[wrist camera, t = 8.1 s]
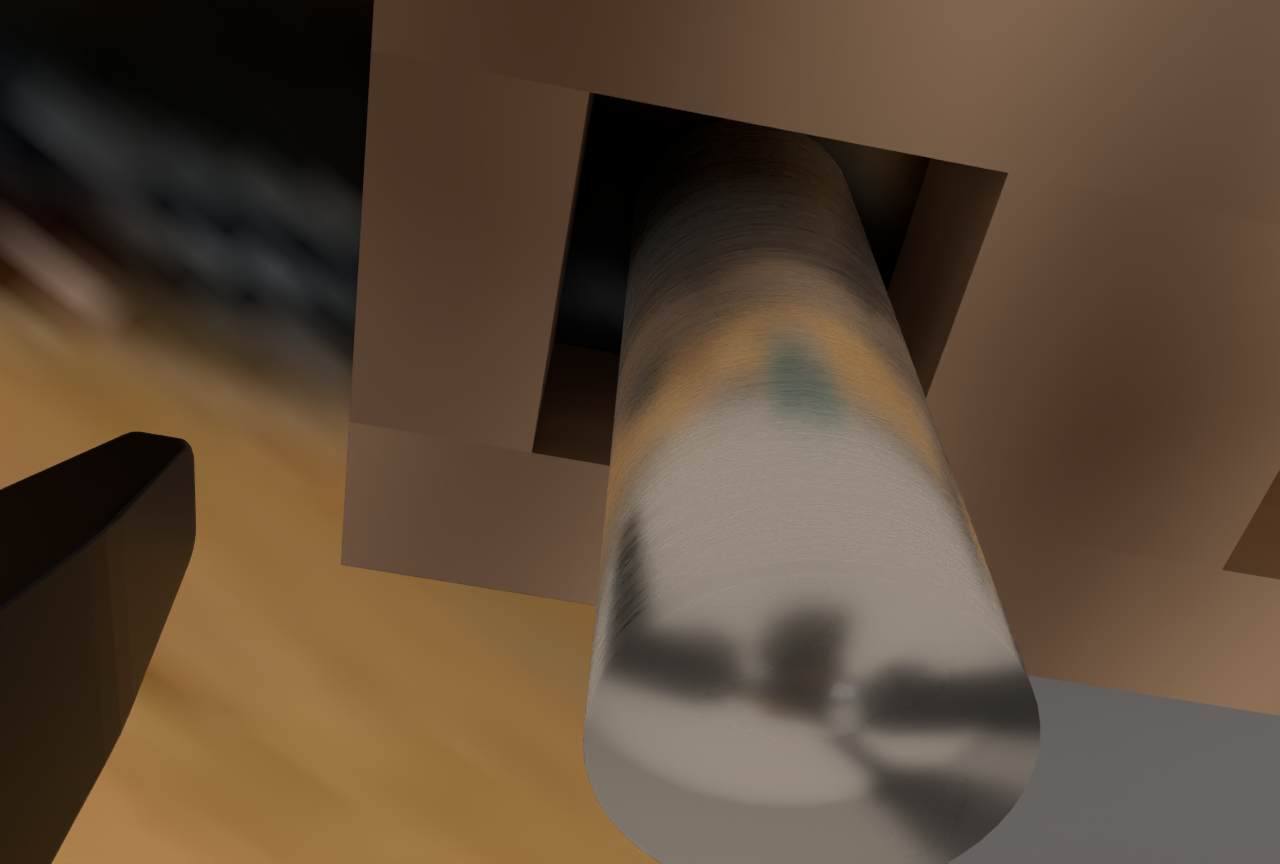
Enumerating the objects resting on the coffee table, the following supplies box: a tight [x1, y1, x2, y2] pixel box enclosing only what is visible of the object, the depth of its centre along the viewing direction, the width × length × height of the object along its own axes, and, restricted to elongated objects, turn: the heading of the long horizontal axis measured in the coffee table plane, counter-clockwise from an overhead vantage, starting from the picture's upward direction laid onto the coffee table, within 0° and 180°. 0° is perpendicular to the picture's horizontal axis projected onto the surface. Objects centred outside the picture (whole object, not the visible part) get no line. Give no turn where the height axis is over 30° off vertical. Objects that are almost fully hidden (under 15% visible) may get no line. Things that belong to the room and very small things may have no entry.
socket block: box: [341, 0, 1280, 716], centre depth 15 cm, size 18×9×3 cm, turn 80°
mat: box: [946, 675, 1280, 864], centre depth 21 cm, size 10×10×1 cm
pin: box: [583, 119, 1040, 864], centre depth 12 cm, size 3×3×10 cm
